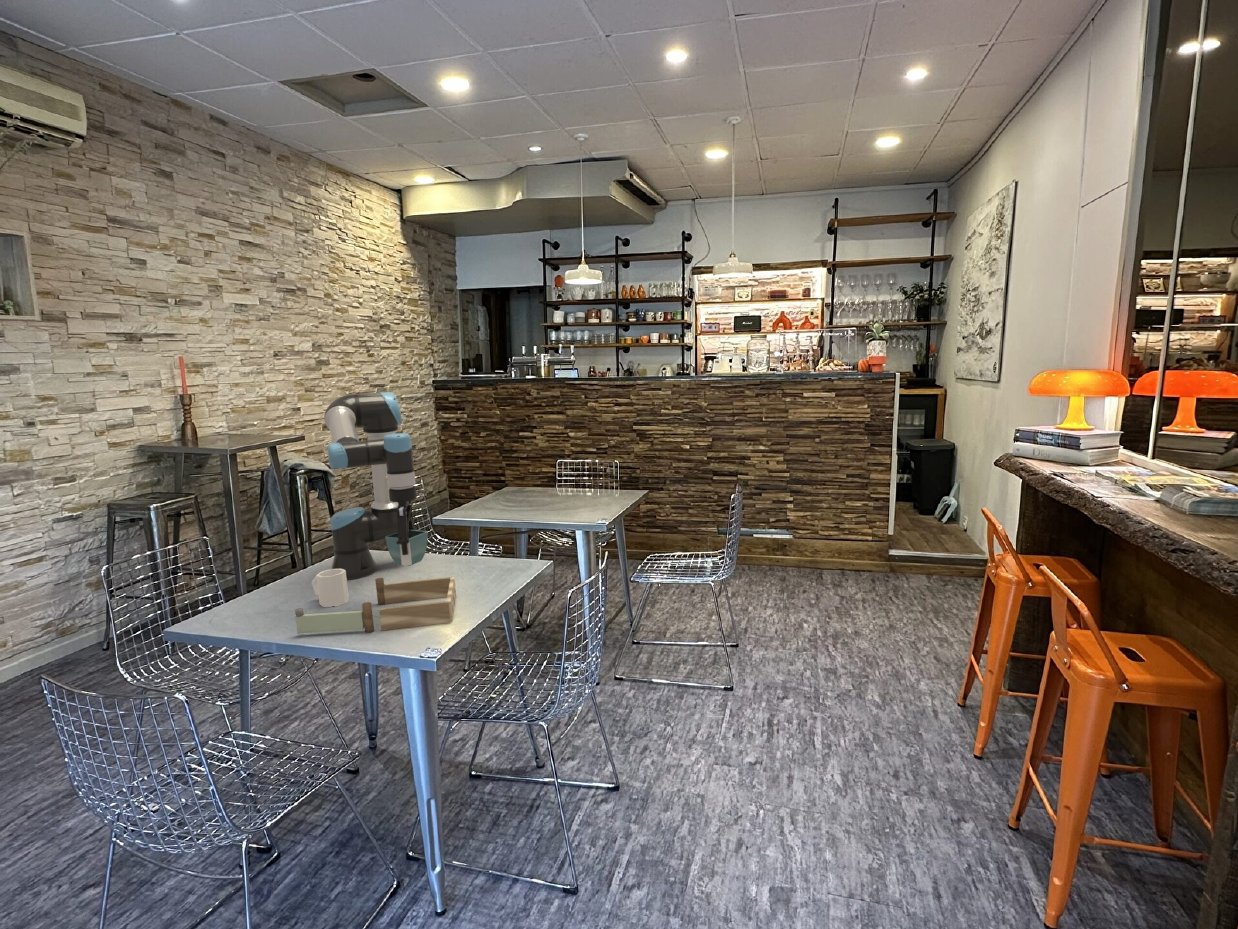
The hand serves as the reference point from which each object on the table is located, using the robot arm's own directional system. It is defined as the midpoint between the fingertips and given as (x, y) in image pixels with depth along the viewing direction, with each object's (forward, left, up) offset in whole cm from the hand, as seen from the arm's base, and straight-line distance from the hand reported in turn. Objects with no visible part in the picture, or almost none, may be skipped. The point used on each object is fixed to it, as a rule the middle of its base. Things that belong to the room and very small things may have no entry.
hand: (409, 559), depth 191 cm
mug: (-18, -28, -17) cm, 37 cm away
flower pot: (0, 0, -2) cm, 2 cm away
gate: (+9, -21, -16) cm, 28 cm away
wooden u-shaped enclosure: (0, 0, -17) cm, 17 cm away
